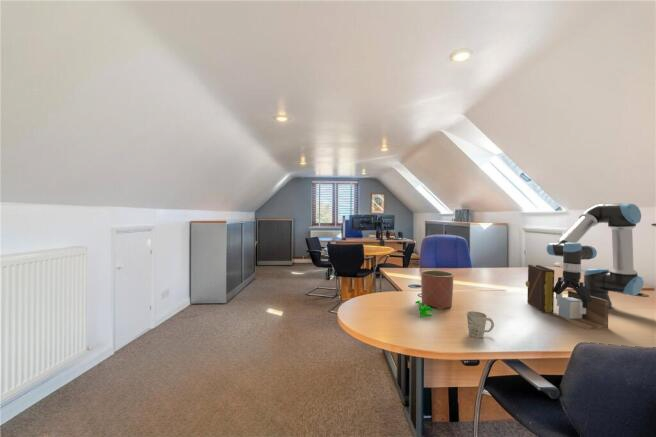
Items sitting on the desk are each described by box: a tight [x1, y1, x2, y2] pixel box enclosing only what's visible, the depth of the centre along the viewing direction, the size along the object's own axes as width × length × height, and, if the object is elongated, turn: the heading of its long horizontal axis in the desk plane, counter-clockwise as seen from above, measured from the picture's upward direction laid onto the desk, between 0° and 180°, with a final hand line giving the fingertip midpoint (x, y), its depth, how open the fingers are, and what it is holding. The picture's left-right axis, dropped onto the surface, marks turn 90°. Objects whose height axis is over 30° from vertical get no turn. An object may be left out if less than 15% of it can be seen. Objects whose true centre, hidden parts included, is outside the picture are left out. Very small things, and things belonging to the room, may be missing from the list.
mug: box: [466, 310, 495, 339], centre depth 137 cm, size 8×13×10 cm, turn 95°
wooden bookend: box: [551, 289, 610, 330], centre depth 156 cm, size 12×20×14 cm, turn 7°
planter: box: [420, 269, 455, 310], centre depth 183 cm, size 19×19×20 cm
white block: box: [558, 296, 582, 319], centre depth 159 cm, size 8×6×10 cm
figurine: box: [414, 299, 436, 318], centre depth 162 cm, size 6×12×9 cm, turn 98°
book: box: [525, 264, 555, 314], centre depth 180 cm, size 22×8×25 cm, turn 168°
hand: (570, 309), depth 159 cm, fingers open, 13 cm apart
